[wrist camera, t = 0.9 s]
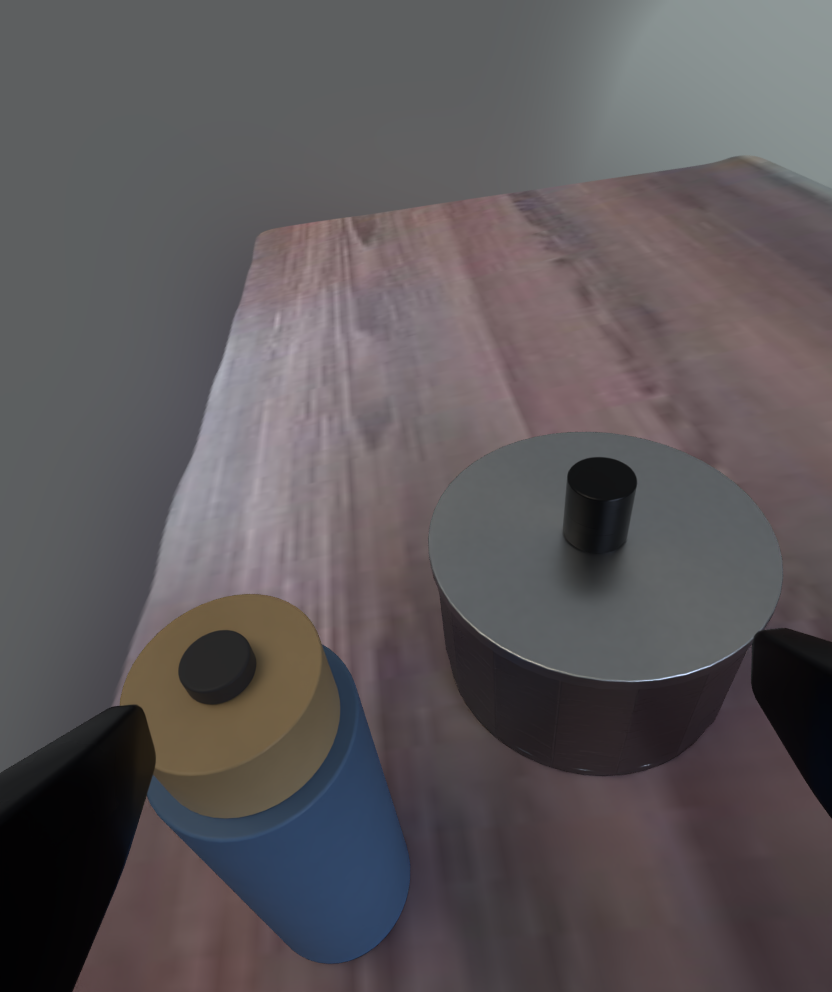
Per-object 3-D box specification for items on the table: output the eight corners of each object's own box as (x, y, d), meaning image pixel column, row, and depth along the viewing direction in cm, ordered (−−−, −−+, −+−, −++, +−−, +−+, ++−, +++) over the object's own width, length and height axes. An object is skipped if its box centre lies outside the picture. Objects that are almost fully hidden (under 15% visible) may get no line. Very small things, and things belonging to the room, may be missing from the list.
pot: (751, 796, 21) (813, 701, 17) (430, 755, 23) (412, 662, 19) (698, 554, 29) (731, 448, 25) (464, 541, 31) (457, 441, 27)
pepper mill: (395, 978, 18) (291, 807, 9) (246, 948, 19) (28, 766, 10) (421, 810, 22) (363, 571, 13) (294, 792, 23) (160, 557, 14)
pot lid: (821, 723, 17) (874, 649, 14) (403, 680, 19) (388, 609, 17) (733, 455, 25) (757, 380, 23) (452, 448, 27) (446, 379, 25)
